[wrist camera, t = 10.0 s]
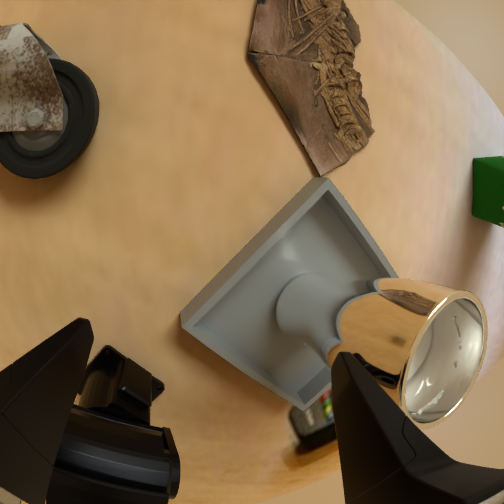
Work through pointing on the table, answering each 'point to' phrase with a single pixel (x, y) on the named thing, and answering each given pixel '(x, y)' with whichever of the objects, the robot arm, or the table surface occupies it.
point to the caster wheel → (41, 105)
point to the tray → (272, 284)
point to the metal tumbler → (393, 336)
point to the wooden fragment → (314, 74)
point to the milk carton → (489, 189)
